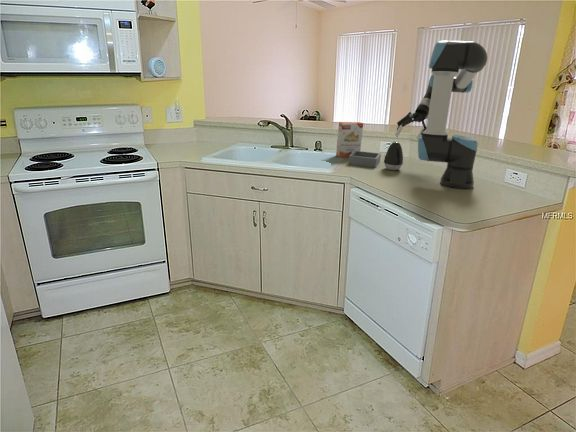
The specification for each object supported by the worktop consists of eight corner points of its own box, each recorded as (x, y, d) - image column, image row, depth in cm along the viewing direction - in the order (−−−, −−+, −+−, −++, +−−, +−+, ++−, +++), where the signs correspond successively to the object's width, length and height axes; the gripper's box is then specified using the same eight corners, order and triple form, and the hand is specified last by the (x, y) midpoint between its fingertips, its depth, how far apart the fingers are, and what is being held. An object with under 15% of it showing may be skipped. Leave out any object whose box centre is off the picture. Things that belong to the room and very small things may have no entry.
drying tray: (375, 167, 220) (376, 158, 218) (348, 164, 225) (349, 155, 223) (380, 161, 233) (381, 153, 231) (354, 158, 238) (355, 150, 236)
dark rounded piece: (400, 167, 222) (404, 140, 216) (403, 172, 212) (407, 144, 206) (382, 166, 222) (385, 139, 217) (384, 171, 213) (387, 143, 207)
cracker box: (339, 157, 240) (342, 123, 232) (335, 155, 245) (338, 121, 238) (360, 157, 244) (363, 122, 236) (356, 154, 249) (359, 121, 241)
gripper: (446, 115, 217) (429, 145, 212) (406, 110, 233) (389, 138, 229) (444, 105, 211) (425, 136, 207) (403, 101, 228) (385, 129, 224)
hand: (406, 137), depth 218 cm, fingers open, 13 cm apart
